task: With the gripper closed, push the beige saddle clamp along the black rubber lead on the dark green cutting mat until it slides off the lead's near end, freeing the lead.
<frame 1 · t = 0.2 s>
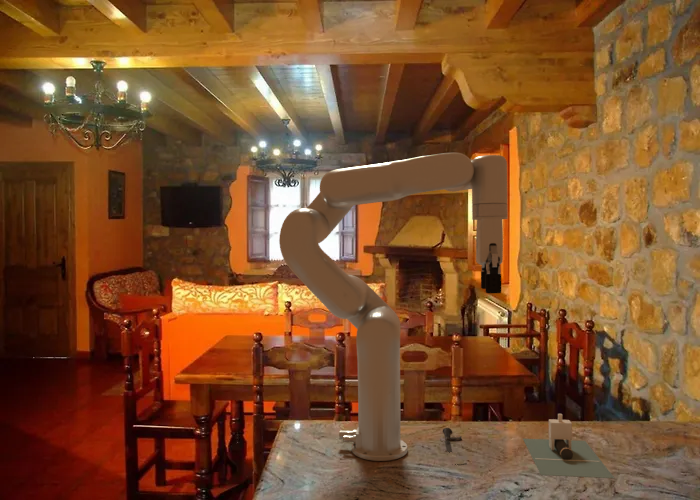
hand: (490, 290, 123), 36 cm above the countertop, tool pointing down, fingers open, 9 cm apart
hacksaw: (468, 452, 127), on the countertop
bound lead: (561, 451, 123), resting on cutting mat
cutting mat: (564, 460, 121), on the countertop
beige saddle clamp: (560, 431, 124), point 5 cm above the countertop, slide at 0.0 cm
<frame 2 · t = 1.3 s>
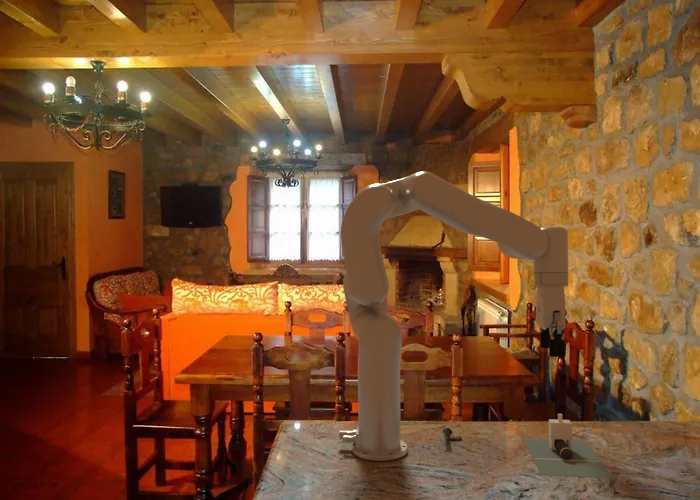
hand: (551, 352, 132), 21 cm above the countertop, tool pointing down, fingers open, 9 cm apart
nothing on the countertop moved.
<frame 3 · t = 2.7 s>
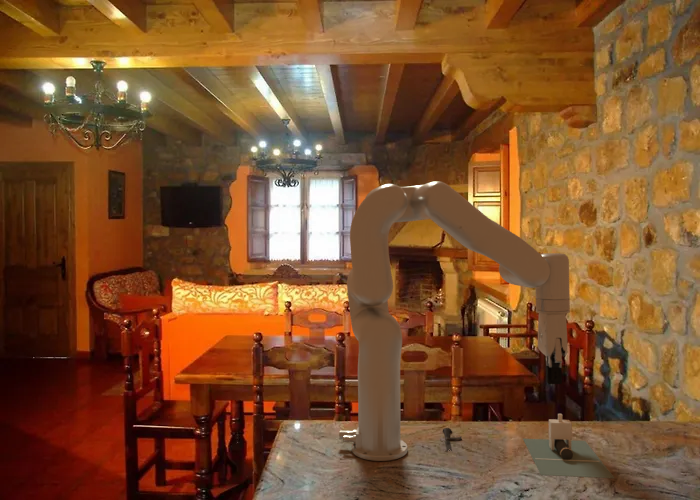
hand: (554, 383, 132), 14 cm above the countertop, tool pointing down, fingers closed
nothing on the countertop moved.
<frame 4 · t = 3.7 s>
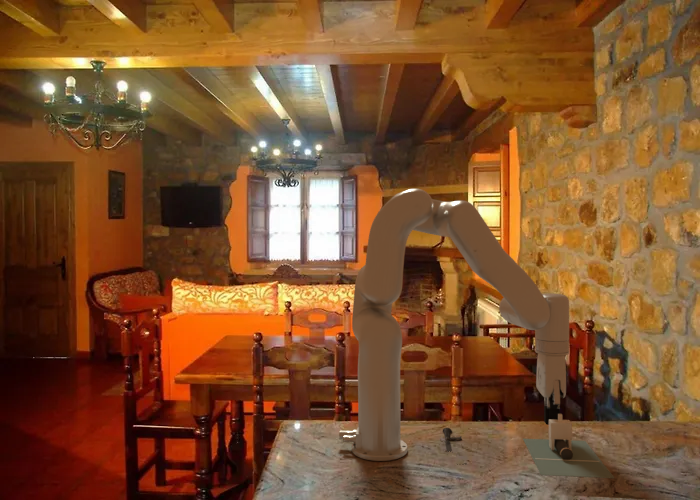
hand: (551, 423, 132), 4 cm above the countertop, tool pointing down, fingers closed
nothing on the countertop moved.
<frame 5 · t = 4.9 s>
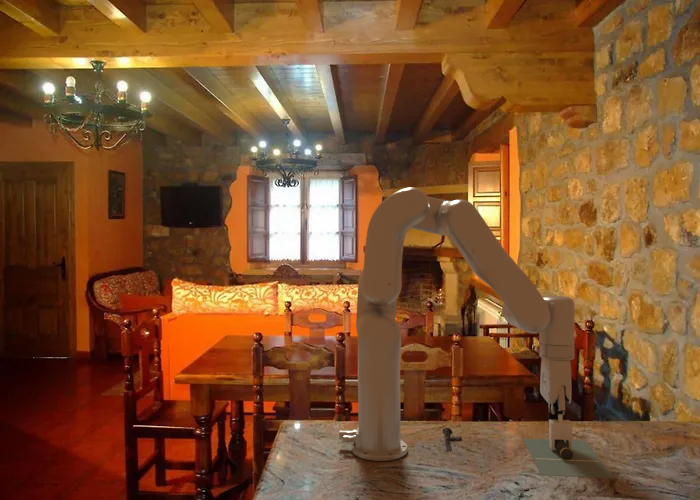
hand: (556, 430, 128), 4 cm above the countertop, tool pointing down, fingers closed
beige saddle clamp: (560, 431, 124), point 5 cm above the countertop, slide at 0.2 cm, touching gripper
everything else where it was.
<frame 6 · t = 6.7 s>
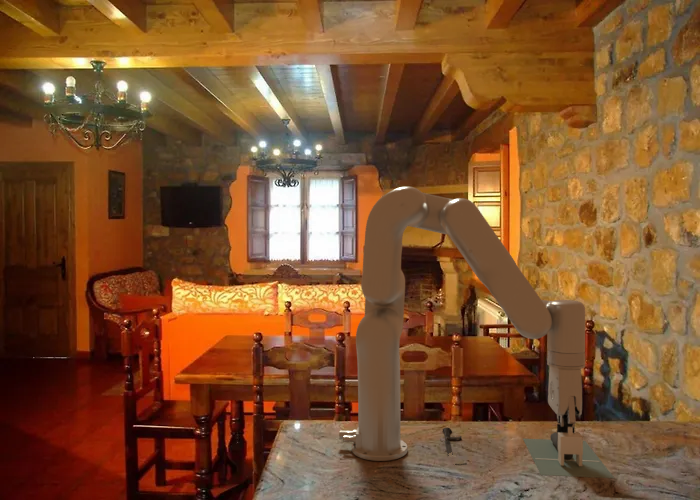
hand: (565, 443, 120), 4 cm above the countertop, tool pointing down, fingers closed
beige saddle clamp: (570, 445, 116), point 5 cm above the countertop, slide at 8.4 cm, touching gripper
everything else where it was.
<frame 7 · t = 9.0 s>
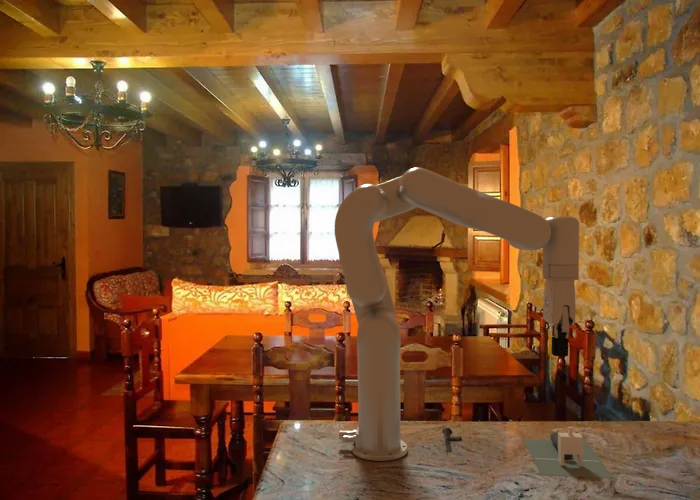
hand: (559, 355, 124), 22 cm above the countertop, tool pointing down, fingers closed
beige saddle clamp: (570, 445, 116), point 5 cm above the countertop, slide at 8.5 cm
everything else where it was.
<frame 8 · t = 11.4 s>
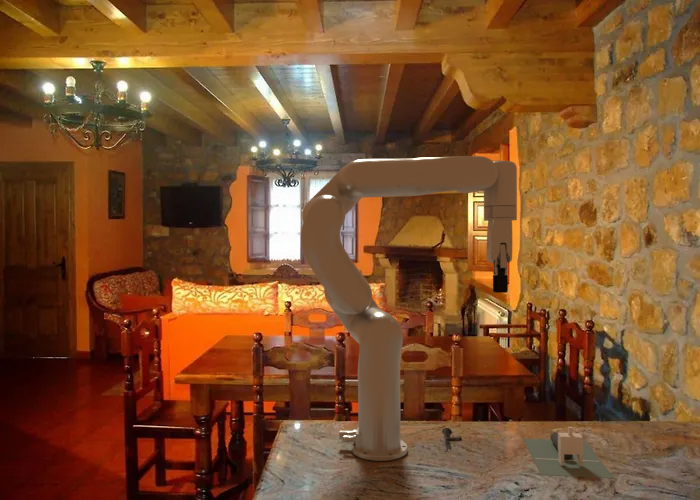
hand: (500, 292, 132), 35 cm above the countertop, tool pointing down, fingers closed
nothing on the countertop moved.
at the end: beige saddle clamp slide at 8.5 cm; beige saddle clamp touching nothing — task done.
